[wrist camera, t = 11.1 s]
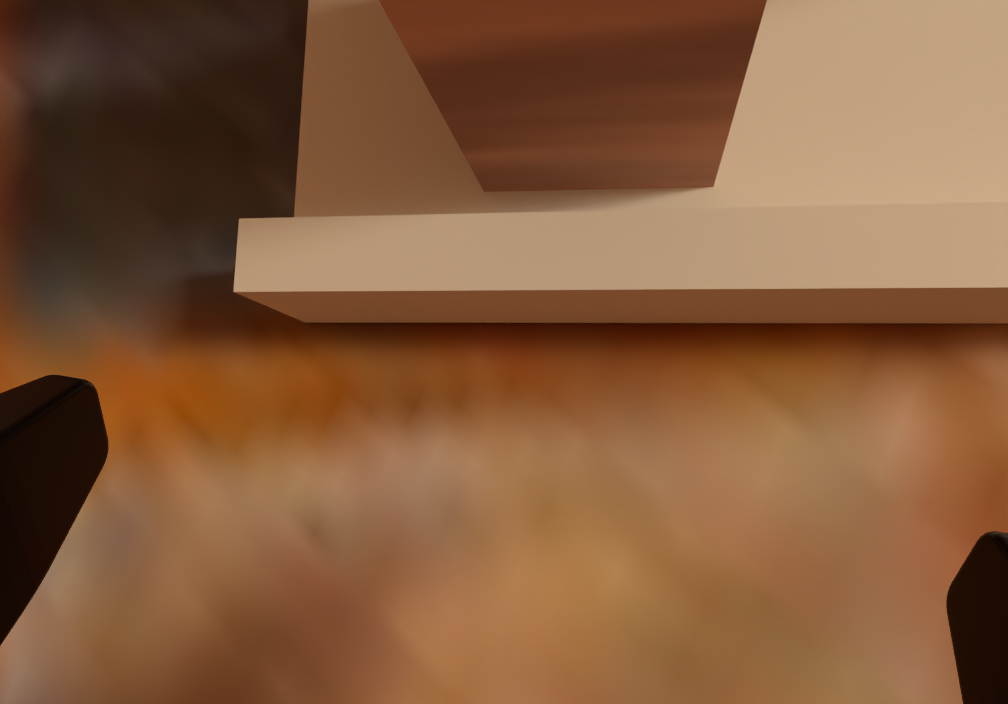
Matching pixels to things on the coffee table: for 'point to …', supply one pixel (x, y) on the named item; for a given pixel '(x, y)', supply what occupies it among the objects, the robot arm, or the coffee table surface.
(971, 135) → the cleat board
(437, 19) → the block
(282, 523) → the coffee table surface
